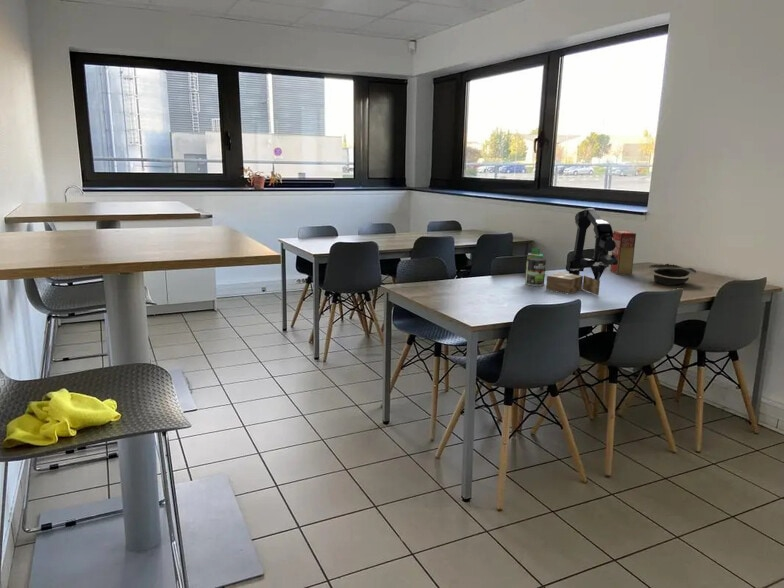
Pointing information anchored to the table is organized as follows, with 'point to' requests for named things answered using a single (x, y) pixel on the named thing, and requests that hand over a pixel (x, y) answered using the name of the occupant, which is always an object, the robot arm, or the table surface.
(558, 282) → the carton
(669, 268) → the stone bowl
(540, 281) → the coffee can
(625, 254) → the food packaging
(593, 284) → the side flap
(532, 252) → the chalk box
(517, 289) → the table surface
